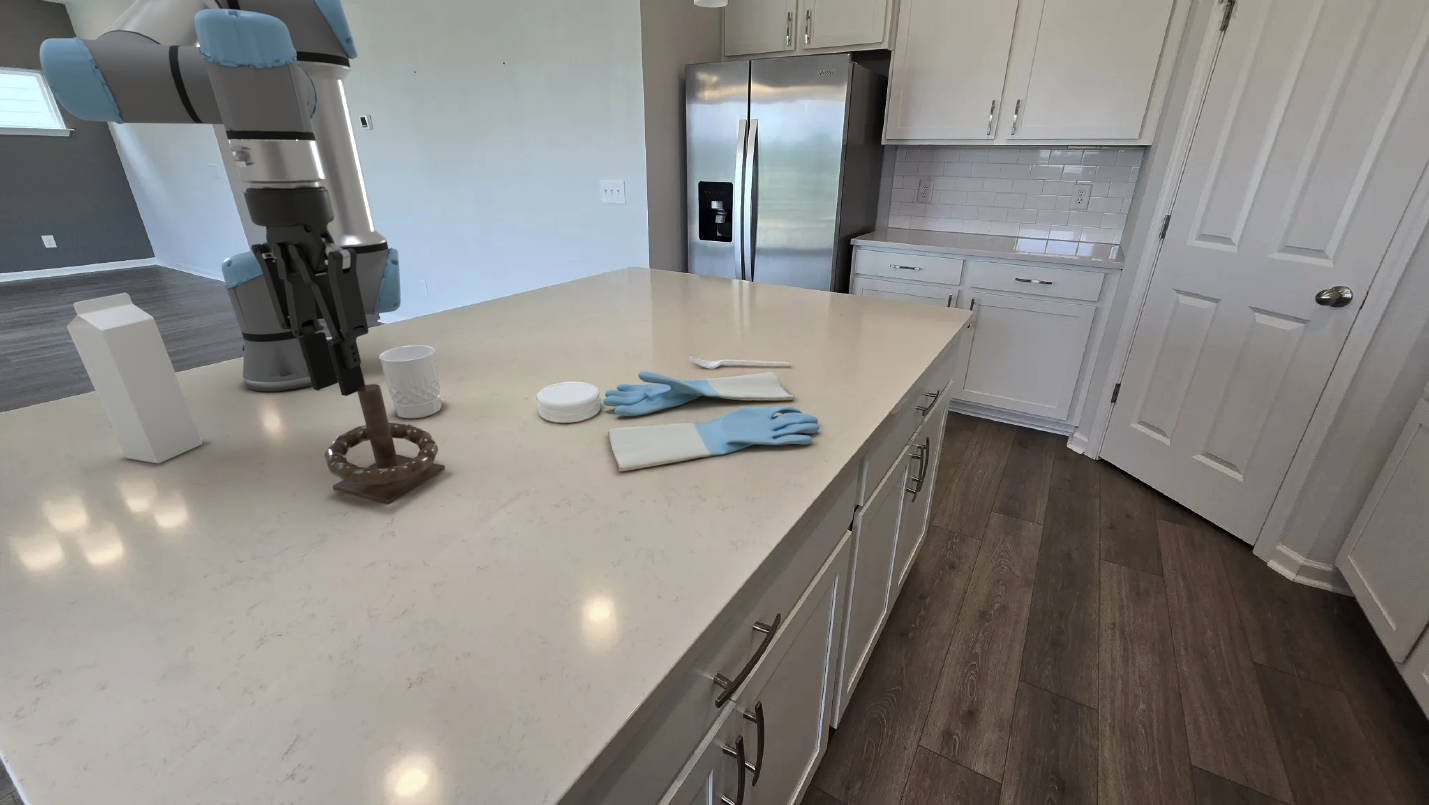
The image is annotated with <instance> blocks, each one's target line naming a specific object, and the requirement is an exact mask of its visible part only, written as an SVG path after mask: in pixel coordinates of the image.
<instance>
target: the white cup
mask: <svg viewBox="0 0 1429 805" xmlns="http://www.w3.org/2000/svg"><path fill="white" fill-rule="evenodd" d="M378 358H379V363H380V365H381V369H382V373H383V375H384V378H385V383H386V385H387V389H388V392H389V394H390V398H391V401H392V402H393V403H392V404H393V406H394V410H395V414H396V415H397V416H398V417H399V418H403V419H419V418H425V417H429V416H432V415H435V414H436V413H437V412H440V411H441V409H442V406H443V405H442V398H441V397H442V396H441V385H440V376H439V371H438V370H439V369H438V363H437V356H436V349H435V348H434V347H432V346H431V345H424V344H411V345H402V346H397V347H393V348H390V349H387V350H385V351H382V352H381V353H380V354H379V356H378Z"/></svg>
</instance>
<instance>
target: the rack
mask: <svg viewBox="0 0 1429 805" xmlns="http://www.w3.org/2000/svg"><path fill="white" fill-rule="evenodd" d="M356 393H357V395H358V400H359V403H360V407H361V411H362V415H363V418H364V419H363V420H364V423H365V425H366V427H367V431H368V435H369V439H370V440H369V442H370V446H371V450H372V454H373V457H374V461H375V462H374V463H372V464H370V465H369V466H365V468H379V469H382V468H387V467H392V466H397V465H402V464H404V463H406V462H408V461H410V460H411V459H413V458H414V457H411V456H406V455H402V454H397V451H396V447H395V443H394V438H392V434H391V430H390V426H389V423H390V422H389V418H388V414H387V409H386V405H385V401H384V397H383V392H382V389H381V385H379V384H376V383H370V384H365V385H364V386H361V387H359V388H358V389H357V392H356ZM445 470H446V466H445V465H444V464H439V463H435V462H433V463H432V465H431V467H429V468H428V469H426V470H425V471H423V472H422V473H420V474H418V475H417V476H415V477H413V478H412V479H410V480H406V481H402V482H397V483H393V484H388V485H384V486H376V485H360V484H352V483H350V482H348V481H346V480H344V479H342V480H341V481H339V482H337V483H334V484H333V485H332V489H333V490H334V491H336V492H341V493H344V494H347V495H351V496H355V497H359V498H362V499H367V500H369V501H374V502H378V503H380V504H384V505H390V504H391V503H393V502H395V501H397V500H398V499H400V498H401V497H402V496H405V495H406V494H408V493H410V492H411V491H413V490H414V489H416V488H417V487H419V486H420V485H423V484H424V483H425V482H427V481H429V480H431V479H432V478H433V477H435V476H436V475H438V474H440V473H441V472H443V471H445Z"/></svg>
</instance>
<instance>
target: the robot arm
mask: <svg viewBox="0 0 1429 805" xmlns="http://www.w3.org/2000/svg"><path fill="white" fill-rule="evenodd" d="M357 58H358V51H357V48H356V45H355V42H354V38H353V36H352V32H351V29H350V26H349V24H348V20H347V18H346V14H345V11H344V8H343V6H342V2H341V0H133V3H132V4H131V5H130V6H129V7H128V8H126V10H124V12H123V13H122V14H121V15H120V16H118V17H117V19H115V20H114V21H113V22H111V24H110V25H109V26H108V27H107V28H106V29H105V30H104V31H103V32H102V33H101V34H100V35H99V36H97V38H96V39H87V38H80V36H73V37H70V38H65V37H61V38H59V37H57V38H56V37H55V38H54V37H52V38H51V37H50V38H47V39H44V40H43V41H42V42H41V43H40V47H39V62H40V67H41V70H42V74H43V76H44V79H45V80H46V83H47V84H48V86H49V89H50V90H51V93H52V94H53V95H54V97H55V99H56V100H57V102H58V103H59V104H60V105H61V106H62V107H63V108H64V109H65V110H66V111H67V112H68V113H69V114H70V115H72V116H74V117H76V118H77V119H80V120H83V121H88V122H106V123H107V122H108V123H115V124H117V125H124V124H173V125H175V124H179V125H180V124H181V125H183V124H185V125H187V124H188V125H189V124H190V125H223V127H224V130H225V135H226V140H228V143H229V146H230V150H231V153H230V155H231V159H233V161H234V164H235V168H236V171H237V174H238V178H239V180H240V181H241V182H243V183H247V184H248V186H249V187H246V188H244V191H243V192H242V193H243V197H244V200H245V204H246V207H247V210H248V214H249V217H250V220H251V222H252V223H253V224H254V225H256V226H259V227H265V240H266V241H264V242H261V243H254V244H251V246H250V248H251V250H250V251H249V250H248V251H244V252H241V253H237V254H234V255H231V256H229V257H228V258H225V260H223V262H222V263H221V271H222V276H223V280H224V283H225V285H224V288H225V289H226V291H227V295H228V297H229V299H230V303H231V305H232V308H233V311H234V315H235V317H236V321H237V323H238V327H239V329H240V332H241V335H242V338H243V342H244V345H242V351H243V363H242V379H243V382H244V385H245V387H246V388H247V389H249V390H251V391H255V392H283V391H285V392H286V391H292V390H298V389H303V388H308V387H312V389H313V390H315V391H320V390H323V389H325V388H328V387H331V386H334V385H337V384H338V387H339V390H340V394H341V396H344V397H347V396H350V395H353V394H355V393H358V392H357V389H358V388H359V387H361V386H364V385H366V382H365V378H364V374H363V370H362V366H361V365H362V360H361V354H360V351H359V347H358V343H357V339H358V338H359V337H361V336H365V335H367V334H369V326H368V321H367V315H372V316H376V315H378V314H379V315H380V314H385V313H391V312H396V311H397V310H398V309H399V308H400V307H401V303H402V299H401V298H402V297H401V296H402V295H401V278H400V277H401V276H400V262H399V251H398V250H397V248H394V247H389V245H388V240H387V238H386V237H384V235H382V234H381V233H379V232H378V231H377V230H376V226H375V222H374V218H373V214H372V209H371V204H370V199H369V196H368V191H367V186H366V181H365V177H364V172H363V169H362V168H363V167H362V163H361V158H360V154H359V150H358V145H357V141H356V135H355V130H354V125H353V122H352V117H351V112H350V108H349V104H348V103H349V102H348V98H347V94H346V90H345V89H346V88H345V85H344V81H345V79H346V78H347V77H348V76H349V74H350V73H351V72H352V69H351V63H350V60H354V59H357ZM320 320H324V322H325V325H326V327H327V329H328V330H327V331H328V332H329V334H330V337H331V338H329V339H328V338H327V336H326V332H323V330H324V329H325V325H324V326H323V325H321V323H320Z"/></svg>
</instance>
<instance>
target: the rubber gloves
mask: <svg viewBox="0 0 1429 805" xmlns="http://www.w3.org/2000/svg"><path fill="white" fill-rule="evenodd" d="M638 378H639V379H640V380H641V381H642V382H644V383H647V384H632V383H631V384H630V383H629V384H628V383H619V384H617V386H616V389H609V390H607V391H605V393H604V394H605V398H604V399H603V401H602V402H603V404H604V405H605V406H606V407H615V409H614V414H615V415H617V416H622V417H624V416H625V417H631V416H632V417H633V416H642V415H648V414H651V413H655V412H657V411H661V410H664V409H665V410H666V409H669V408H674V407H679V406H681V405H684V404H687V403H688V402H692V401H694V400H696V399H698V398H700V397H701V396H704V397H711V398H720V399H725V400H736V401H793V400H794V396H795V395H794V394H790V393H788V392H787V391H786V389H784V388H783V386H782V385H781V383H780V379H779V378H778V376H777V375H776V374H775V373H774V372H773V371H772V372H769V371H768V372H759V373H751V374H750V373H749V374H742V375H734V376H726V377H724V376H721V377H713V378H712V377H711V378H704V379H703V378H702V379H691V380H690V379H689V380H680V379H676V378H673V377H670V376H667V375H664V374H663V375H662V374H660V373H656V372H652V371H646V370H642V371H639V372H638ZM648 383H649V384H648ZM777 413H779V414H778V415H775V414H777ZM774 415H775V416H774ZM818 423H819V418H818V417H816V416H814V415H811V414H807V413H803V412H802V411H801V410H800V409H798V408H796V407H793V406H790V405H781V406H776V407H775V406H751V407H749V406H747V407H740V408H737V409H734V410H731V411H729V412H727V413H725V414H723V415H722V416H719V417H718V418H715V419H713V420H708V421H702V422H701V421H699V422H678V423H677V422H676V423H665V424H653V425H652V424H651V425H641V426H640V425H639V426H626V427H615V428H614V427H613V428H608V437H609V442H610V447H611V450H612V453H613V457H614V460H615V463H616V464H617V466H618V467H617V468H618V471H619V472H625V471H633V470H638V469H644V468H649V467H650V468H651V467H656V466H660V465H667V464H673V463H679V462H684V461H689V460H690V461H691V460H694V459H695V460H696V459H700V458H708V457H715V456H723V455H725V454H726V455H727V454H730V453H733V452H737V451H740V450H742V449H745V448H747V447H750V446H753V445H768V446H779V445H780V446H782V445H793V444H794V445H804V446H805V445H810V444H811V443H812V442H813V437H812V436H810V435H806V434H815V433H817V432H818V431H819V430H820V426H819V424H818ZM802 434H803V435H802ZM804 434H805V435H804Z"/></svg>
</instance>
